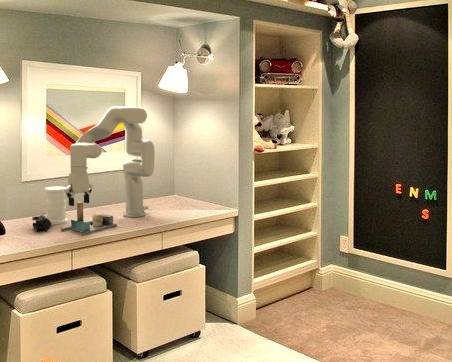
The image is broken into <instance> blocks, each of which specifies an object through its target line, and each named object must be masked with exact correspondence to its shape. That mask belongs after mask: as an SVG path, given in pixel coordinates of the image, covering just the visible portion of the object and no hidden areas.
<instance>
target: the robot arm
mask: <svg viewBox="0 0 452 362" xmlns="http://www.w3.org/2000/svg"><path fill="white" fill-rule="evenodd" d="M147 118H148V113H147V111H146V109H145V108H143V107H136V106H135V107H134V106H111V107H109V108H108V109H107V110H106V112H105V113H104V115H103V116H102V117H101V119H100V120H99V122H97V124H96V125H95V126H92V127H91V128H90V129H88V130H86V131H85V132H83V133H82V134H81V135H80V136H79V138H78V139H77V140H76V142H75V143H72V144H71V145H70V146H69V147H70V149H69V150H70V151H69V152H70V155H69V156H70V172H69V173H68V178H67V187H66V188H65V189H64V191H65V194H66V197H67V198H68V206H70V207H75V198H74V197H75V195H76V194H82V193H83V204H89V203H90V196H91V193H92V190H93V187H94V186H93V185H92V184H91V183H90V181H89V180H90V179H89V174H88V171H87V170H88V165H87V164H88V163H87V159H98V157H100V156H101V155H102V147H101V146H100V144H97V143H95V142H97V141H100V140H104V139H106V138H108V137H110V136H111V135H112V134H113V132H114V131H115V129H116V128H117V127H118V125H119V124H122V125H123V126H124V128H125V132H126V133H125V134H126V136H125V138H126V143H125V144H126V147H125V148H126V149H125V150H126V153H127V155H128V156H132V157H141V158H127V159H126V160H125V161H124V162H123V164H122V165H123V166H122V169H123V174H124V181H125V184H124V185H125V186H124V187H125V191H124V193H125V211H124V212H122V213H123V214H122V215H123V216H124V217H126V218H140V217H145V216H146V215H147V213H146V211H145V210H148V209H149V206H148V205H144V184H143V180H142V178H149V177H151V176H153V174H154V171H155V145H154V142H152V141H151V140H150V139H143V128H142V126H141V124H143V123H145V122H146V121H147Z"/></svg>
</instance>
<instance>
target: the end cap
mask: <svg viewBox="0 0 452 362" xmlns="http://www.w3.org/2000/svg"><path fill="white" fill-rule="evenodd" d="M31 221H35V222H32V227H33V228H32V230H33V231H34V232H35V233H45V232H47V231H48V230H50V229H51V226H52V224H51V222H50V220H49V219H48V218H47V215H44V214H40V215H38V216H32V220H31Z"/></svg>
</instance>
